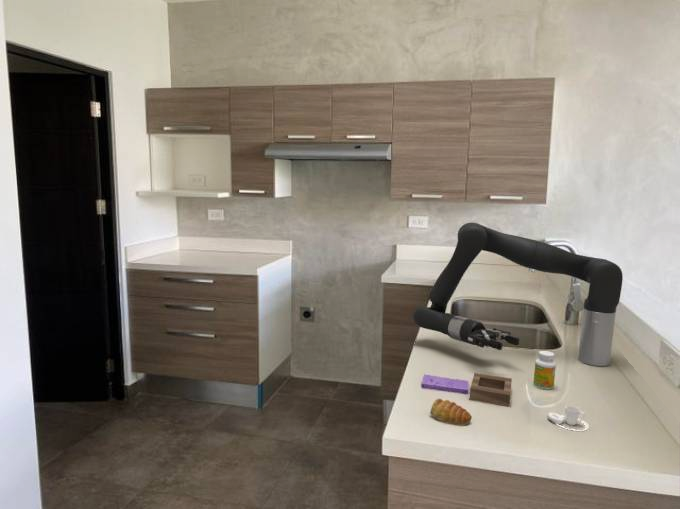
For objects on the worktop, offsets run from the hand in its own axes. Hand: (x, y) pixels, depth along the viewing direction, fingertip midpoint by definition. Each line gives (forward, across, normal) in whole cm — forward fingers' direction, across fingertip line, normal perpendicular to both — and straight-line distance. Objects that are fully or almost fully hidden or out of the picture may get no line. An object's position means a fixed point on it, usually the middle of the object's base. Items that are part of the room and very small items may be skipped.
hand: (510, 344), depth 152 cm
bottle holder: (+6, -17, +9) cm, 20 cm away
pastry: (+9, -37, +10) cm, 39 cm away
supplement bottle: (+12, 0, +9) cm, 15 cm away
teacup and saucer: (+25, -14, +10) cm, 30 cm away
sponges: (-4, -23, +10) cm, 26 cm away
